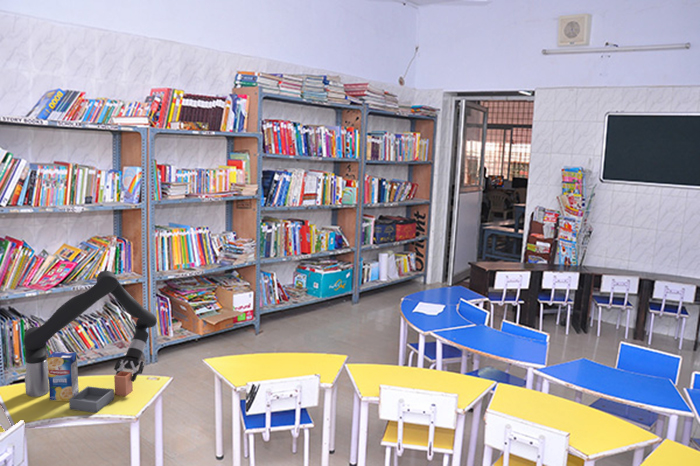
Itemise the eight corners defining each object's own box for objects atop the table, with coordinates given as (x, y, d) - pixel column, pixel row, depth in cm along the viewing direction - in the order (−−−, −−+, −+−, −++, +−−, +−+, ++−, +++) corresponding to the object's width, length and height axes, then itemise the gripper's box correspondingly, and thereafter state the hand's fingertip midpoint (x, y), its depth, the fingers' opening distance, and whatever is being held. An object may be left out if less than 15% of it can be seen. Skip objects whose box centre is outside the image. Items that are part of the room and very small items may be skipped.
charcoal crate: (69, 409, 266) (69, 399, 265) (88, 395, 279) (87, 386, 278) (96, 412, 263) (96, 402, 262) (114, 398, 277) (113, 389, 276)
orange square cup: (115, 394, 281) (114, 376, 279) (121, 389, 287) (121, 371, 285) (126, 396, 280) (125, 377, 278) (132, 390, 286) (132, 372, 284)
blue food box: (72, 400, 274) (70, 357, 270) (49, 400, 273) (46, 357, 269) (78, 394, 280) (76, 352, 276) (56, 393, 280) (53, 351, 276)
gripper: (120, 345, 290) (108, 376, 281) (145, 348, 288) (134, 379, 279) (126, 351, 297) (114, 381, 287) (151, 354, 294) (140, 384, 285)
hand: (124, 380), depth 283 cm, fingers open, 8 cm apart
